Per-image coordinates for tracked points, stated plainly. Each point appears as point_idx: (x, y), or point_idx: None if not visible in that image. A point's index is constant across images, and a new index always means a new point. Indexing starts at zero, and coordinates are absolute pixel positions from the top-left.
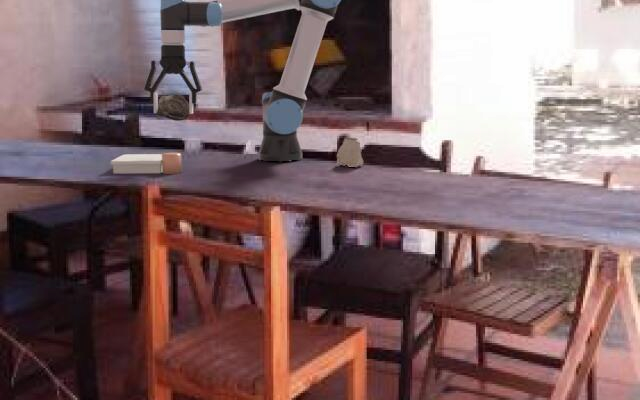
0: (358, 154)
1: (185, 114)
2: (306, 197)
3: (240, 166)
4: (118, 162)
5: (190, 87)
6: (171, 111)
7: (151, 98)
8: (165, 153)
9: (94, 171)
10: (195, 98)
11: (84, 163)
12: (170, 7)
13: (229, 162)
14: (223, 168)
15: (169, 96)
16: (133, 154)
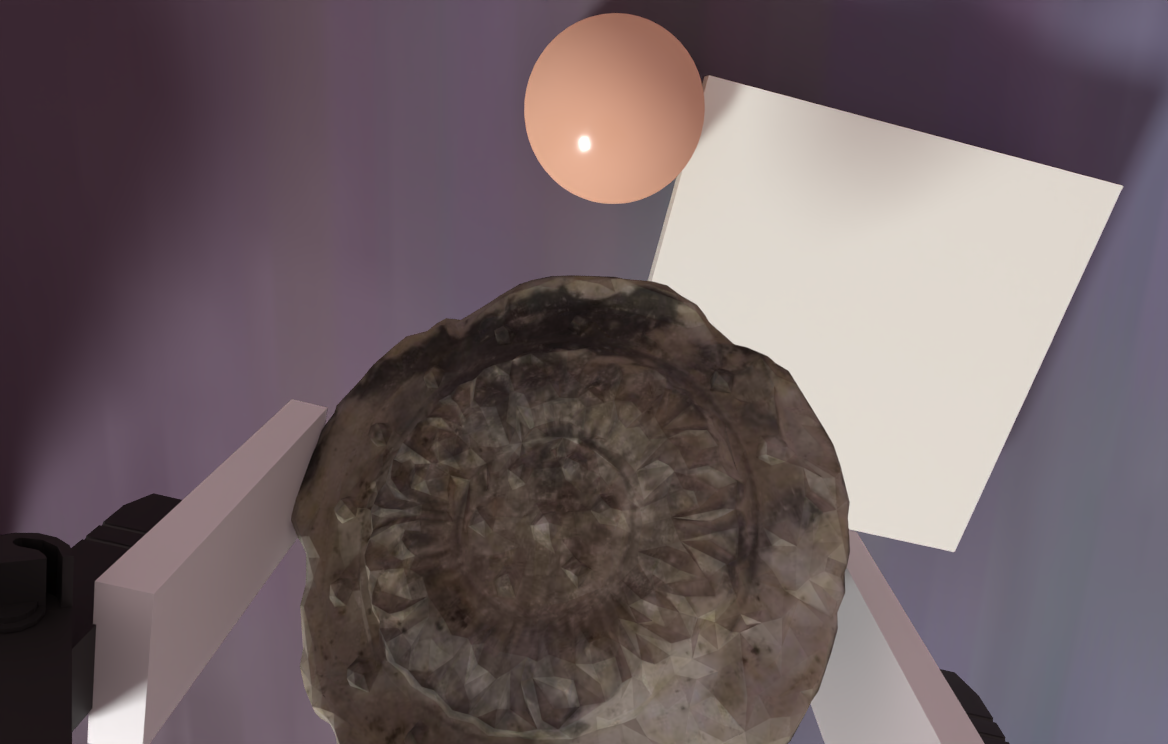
0: None
1: (390, 406)
2: None
3: (87, 281)
4: (1055, 170)
5: (10, 712)
6: (604, 369)
7: (981, 727)
8: (667, 159)
9: (1150, 332)
10: (83, 543)
11: (1139, 690)
12: None
13: (188, 494)
14: (212, 214)
15: None
16: (885, 529)
